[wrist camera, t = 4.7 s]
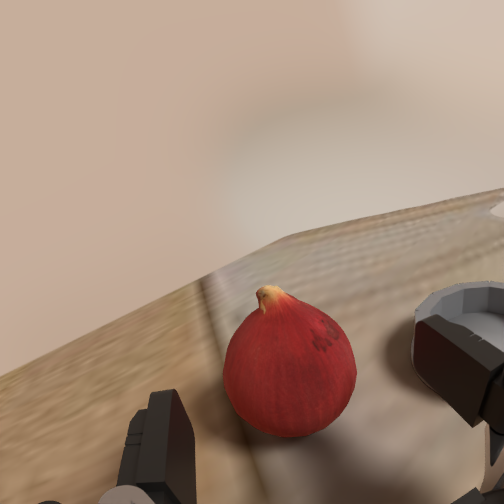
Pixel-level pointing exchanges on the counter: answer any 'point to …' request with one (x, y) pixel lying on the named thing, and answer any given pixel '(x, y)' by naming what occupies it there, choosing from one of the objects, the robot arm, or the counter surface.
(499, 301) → the grey round tray
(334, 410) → the onion
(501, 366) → the robot arm
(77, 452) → the counter surface
